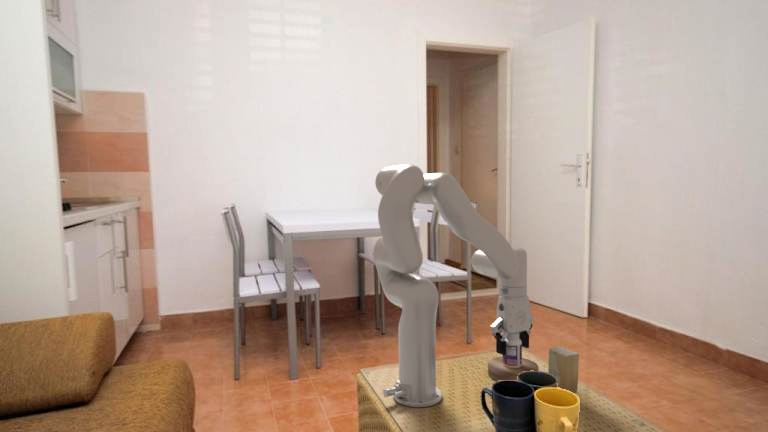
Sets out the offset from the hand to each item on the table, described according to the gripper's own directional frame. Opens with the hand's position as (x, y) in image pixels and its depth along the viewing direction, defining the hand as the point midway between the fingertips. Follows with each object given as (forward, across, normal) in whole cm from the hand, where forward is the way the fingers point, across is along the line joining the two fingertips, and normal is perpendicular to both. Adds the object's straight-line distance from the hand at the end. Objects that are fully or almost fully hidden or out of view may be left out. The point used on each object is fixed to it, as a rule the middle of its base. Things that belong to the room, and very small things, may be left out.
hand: (512, 350), depth 134 cm
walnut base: (+7, 0, 0) cm, 7 cm away
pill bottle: (+4, 0, 0) cm, 5 cm away
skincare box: (+7, -1, -17) cm, 19 cm away
